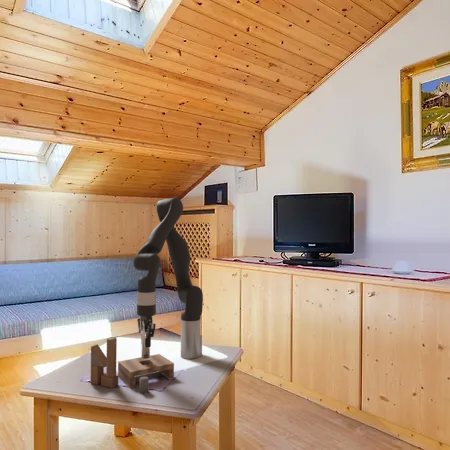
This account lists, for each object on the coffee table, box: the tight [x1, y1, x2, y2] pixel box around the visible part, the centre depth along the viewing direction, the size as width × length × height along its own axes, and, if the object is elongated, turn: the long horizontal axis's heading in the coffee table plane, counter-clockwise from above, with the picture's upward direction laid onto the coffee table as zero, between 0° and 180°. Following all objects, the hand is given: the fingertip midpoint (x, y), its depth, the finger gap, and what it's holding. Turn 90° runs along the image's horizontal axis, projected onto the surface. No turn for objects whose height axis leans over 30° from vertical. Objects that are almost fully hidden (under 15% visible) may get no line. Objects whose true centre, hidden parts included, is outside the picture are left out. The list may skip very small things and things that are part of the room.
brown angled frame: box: [90, 336, 119, 389], centre depth 149 cm, size 4×11×18 cm, turn 65°
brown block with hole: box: [117, 353, 175, 389], centre depth 156 cm, size 18×14×6 cm
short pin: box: [139, 376, 150, 395], centre depth 141 cm, size 3×3×5 cm
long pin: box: [141, 329, 151, 359], centre depth 156 cm, size 3×3×11 cm
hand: (145, 345), depth 156 cm, fingers closed on long pin, 3 cm apart
